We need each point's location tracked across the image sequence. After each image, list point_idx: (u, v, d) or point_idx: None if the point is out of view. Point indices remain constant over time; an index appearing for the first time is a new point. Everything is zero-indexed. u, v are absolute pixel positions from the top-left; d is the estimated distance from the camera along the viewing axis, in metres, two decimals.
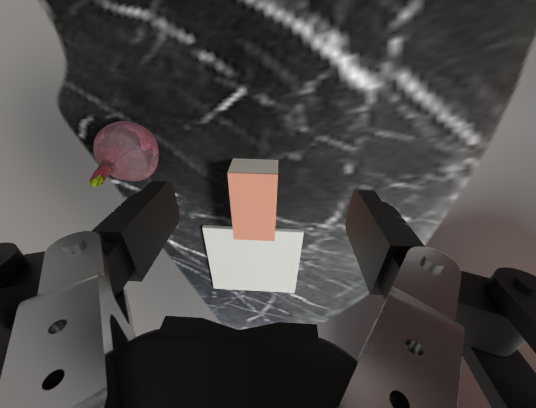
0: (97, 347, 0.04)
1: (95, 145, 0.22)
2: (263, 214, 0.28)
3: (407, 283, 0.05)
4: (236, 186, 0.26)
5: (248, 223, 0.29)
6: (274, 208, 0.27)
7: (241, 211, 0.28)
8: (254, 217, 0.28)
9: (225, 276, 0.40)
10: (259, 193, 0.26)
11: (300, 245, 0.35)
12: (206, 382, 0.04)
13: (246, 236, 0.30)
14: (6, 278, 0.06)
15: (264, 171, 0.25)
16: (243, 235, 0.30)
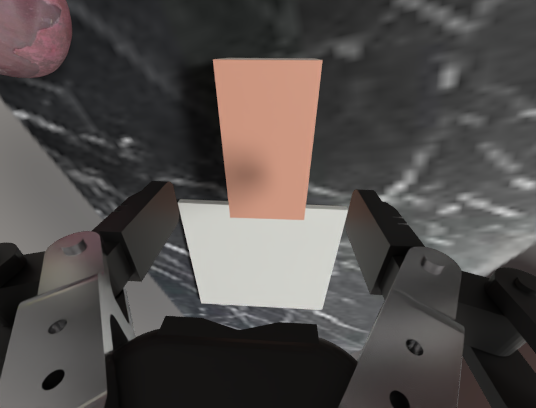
0: (97, 347, 0.04)
1: None
2: (287, 163, 0.15)
3: (407, 283, 0.05)
4: (233, 96, 0.12)
5: (257, 184, 0.15)
6: (308, 149, 0.14)
7: (243, 157, 0.14)
8: (268, 171, 0.15)
9: (218, 285, 0.27)
10: (280, 112, 0.13)
11: (339, 233, 0.21)
12: (206, 382, 0.04)
13: (253, 210, 0.17)
14: (6, 278, 0.06)
15: (292, 59, 0.12)
16: (247, 209, 0.17)
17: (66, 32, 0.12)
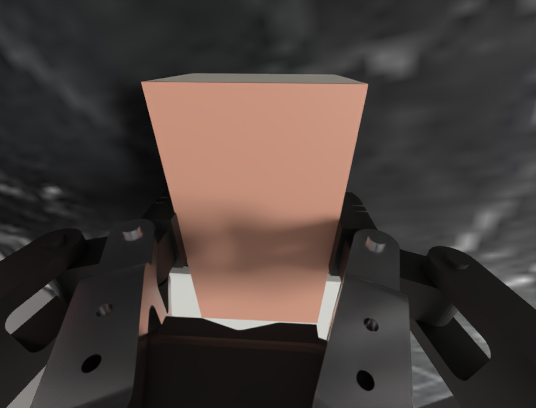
0: (132, 340, 0.04)
1: None
2: (291, 253, 0.08)
3: (357, 265, 0.06)
4: (189, 149, 0.07)
5: (241, 279, 0.09)
6: (330, 233, 0.08)
7: (217, 243, 0.08)
8: (260, 263, 0.09)
9: None
10: (280, 178, 0.07)
11: None
12: (206, 382, 0.04)
13: (237, 310, 0.11)
14: (75, 260, 0.06)
15: (304, 81, 0.06)
16: (228, 309, 0.11)
17: None
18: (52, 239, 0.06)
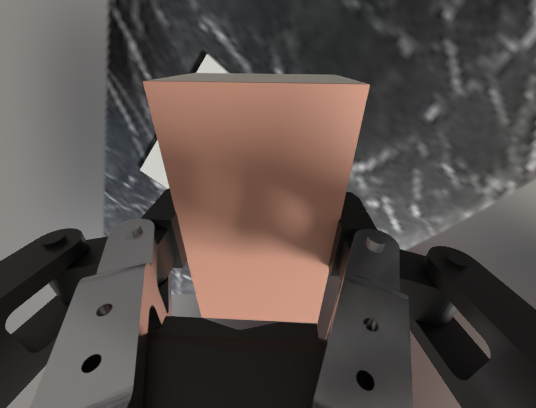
0: (132, 340, 0.04)
1: None
2: (292, 253, 0.08)
3: (357, 265, 0.06)
4: (190, 149, 0.07)
5: (242, 278, 0.09)
6: (330, 233, 0.08)
7: (217, 243, 0.08)
8: (260, 263, 0.09)
9: None
10: (281, 178, 0.07)
11: None
12: (206, 382, 0.04)
13: (237, 310, 0.11)
14: (75, 260, 0.06)
15: (305, 81, 0.06)
16: (228, 308, 0.11)
17: None
18: (52, 238, 0.06)
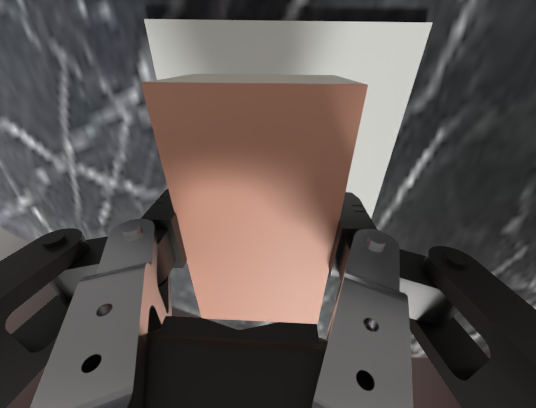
0: (132, 340, 0.04)
1: None
2: (291, 254, 0.08)
3: (357, 265, 0.06)
4: (189, 150, 0.07)
5: (241, 279, 0.09)
6: (330, 234, 0.08)
7: (217, 244, 0.08)
8: (260, 264, 0.09)
9: (218, 73, 0.13)
10: (280, 178, 0.07)
11: None
12: (206, 382, 0.04)
13: (237, 311, 0.11)
14: (75, 260, 0.06)
15: (303, 81, 0.06)
16: (228, 309, 0.10)
17: None
18: (53, 239, 0.06)
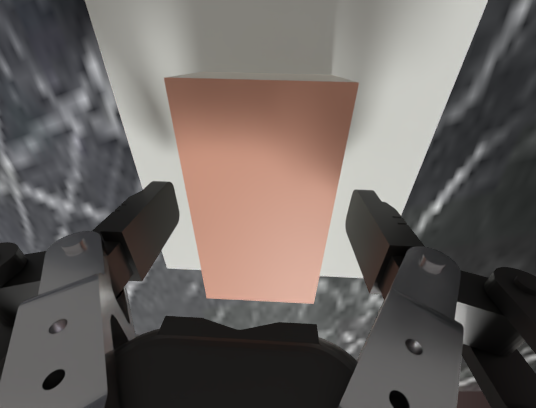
0: (98, 347, 0.04)
1: None
2: (290, 235, 0.09)
3: (406, 283, 0.05)
4: (202, 138, 0.07)
5: (245, 259, 0.10)
6: (326, 216, 0.09)
7: (224, 225, 0.09)
8: (262, 245, 0.10)
9: (190, 71, 0.10)
10: (282, 165, 0.08)
11: (337, 275, 0.16)
12: (206, 382, 0.04)
13: (240, 290, 0.11)
14: (7, 278, 0.06)
15: (304, 79, 0.07)
16: (232, 289, 0.11)
17: None
18: None
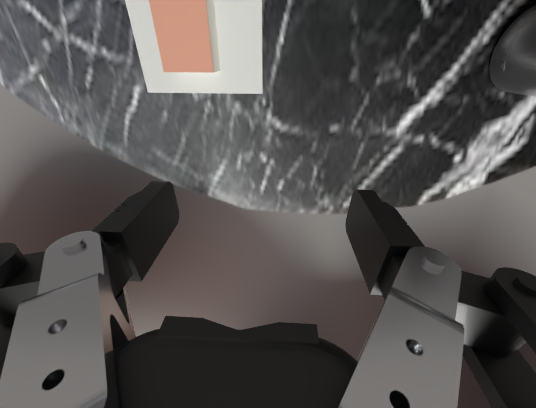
0: (97, 347, 0.04)
1: None
2: (193, 21, 0.23)
3: (407, 283, 0.05)
4: None
5: (177, 39, 0.24)
6: (204, 8, 0.22)
7: (165, 16, 0.23)
8: (182, 28, 0.23)
9: None
10: None
11: (241, 91, 0.30)
12: (206, 382, 0.04)
13: (178, 64, 0.25)
14: (6, 278, 0.06)
15: None
16: (174, 63, 0.25)
17: None
18: None
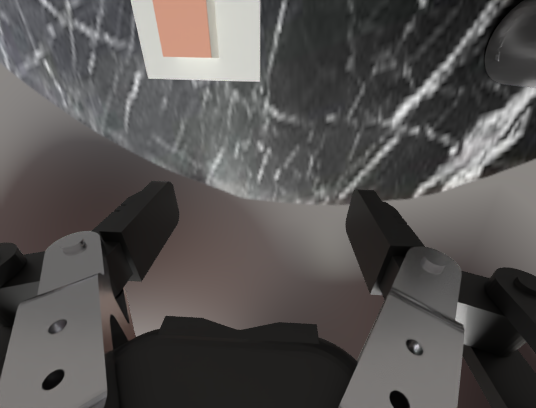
0: (97, 347, 0.04)
1: None
2: (192, 6, 0.23)
3: (407, 283, 0.05)
4: None
5: (176, 24, 0.24)
6: None
7: (165, 1, 0.23)
8: (181, 13, 0.24)
9: None
10: None
11: (239, 79, 0.30)
12: (206, 382, 0.04)
13: (177, 49, 0.26)
14: (6, 278, 0.06)
15: None
16: (173, 48, 0.26)
17: None
18: None
